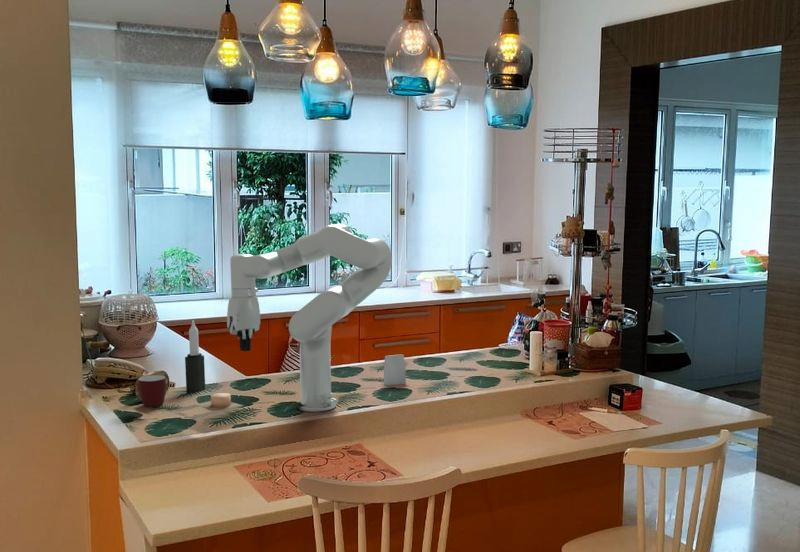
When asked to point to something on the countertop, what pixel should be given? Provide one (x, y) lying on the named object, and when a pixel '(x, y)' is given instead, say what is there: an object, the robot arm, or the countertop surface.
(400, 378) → the grey tall block
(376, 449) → the countertop surface
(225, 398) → the tan round bun
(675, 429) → the countertop surface
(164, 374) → the tin
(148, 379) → the mug
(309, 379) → the robot arm
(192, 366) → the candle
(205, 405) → the tan piece
